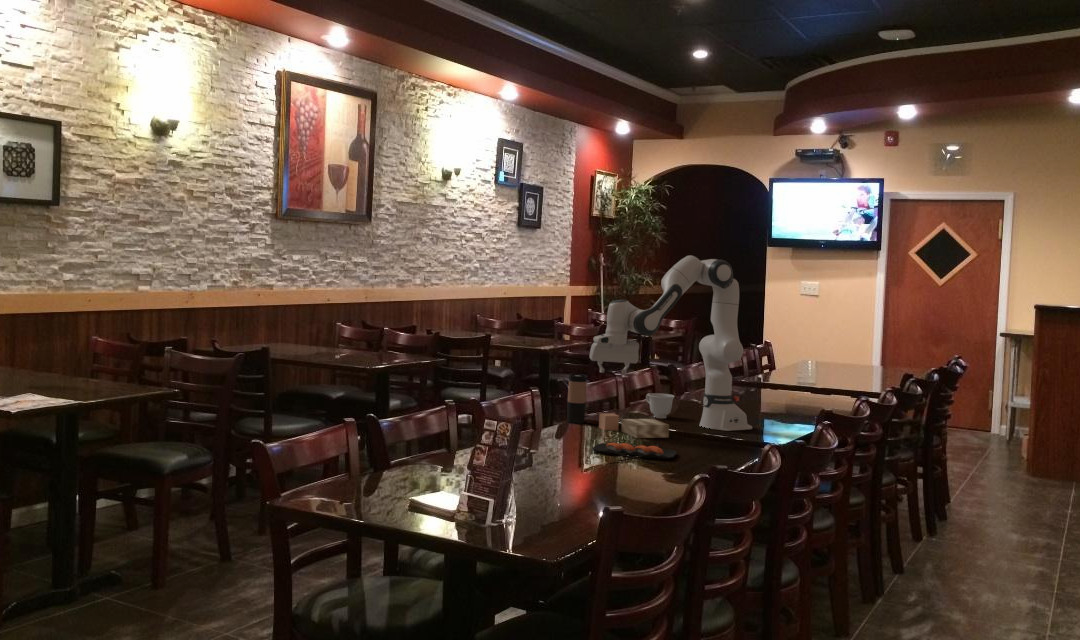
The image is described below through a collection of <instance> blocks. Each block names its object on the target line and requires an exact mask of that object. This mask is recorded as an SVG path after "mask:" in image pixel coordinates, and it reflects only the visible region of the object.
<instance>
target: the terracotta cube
mask: <svg viewBox="0 0 1080 640" xmlns="http://www.w3.org/2000/svg"><path fill="white" fill-rule="evenodd" d="M619 422H620V415H618V414H616V413H613V412H611V413H610V412H608V413H607V412H605V413H602V412H601V413H599V417H598V428H599V429H601V430H602V431H619Z"/></svg>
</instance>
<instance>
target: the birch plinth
mask: <svg viewBox="0 0 1080 640" xmlns="http://www.w3.org/2000/svg"><path fill="white" fill-rule="evenodd" d="M620 429H621V430H620V431H621V432H622V433H624V434H626V435H629V436H631V437H633V438H634V439H645V438H647V439H655V438H656V439H657V438H658V439H660V438H669V437H670V424H668V423H666V422H662V421H660V420H657V419H656V418H622V419H621V428H620Z"/></svg>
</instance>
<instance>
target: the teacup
mask: <svg viewBox="0 0 1080 640" xmlns="http://www.w3.org/2000/svg"><path fill="white" fill-rule="evenodd" d="M674 398H675V395H673V394H668V393H660V392H659V393H658V392H655V393H652V392H651V393H647V394H646V395H645V400H646V402H647V404H649V410H650V412H651V414H653V418H655V417H656V418H655V419H667V416H668V415H670V413H671V411H672V406H673V401H674Z"/></svg>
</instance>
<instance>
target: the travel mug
mask: <svg viewBox="0 0 1080 640" xmlns="http://www.w3.org/2000/svg"><path fill="white" fill-rule="evenodd" d="M587 380H588V375H587V374H581V373H580V374H579V373H569V374H568V387H567V390H568V391H567V405H566V407H567V408H566V409H567V410H566V411H567V413H566V414H567V416H566V419H567V420H566V422H567V423H568V424H574V425H575V424H578V425H581V424H584V423H585V415H586V404H587V403H586V402H587V384H588V383H587V382H588V381H587Z"/></svg>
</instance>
